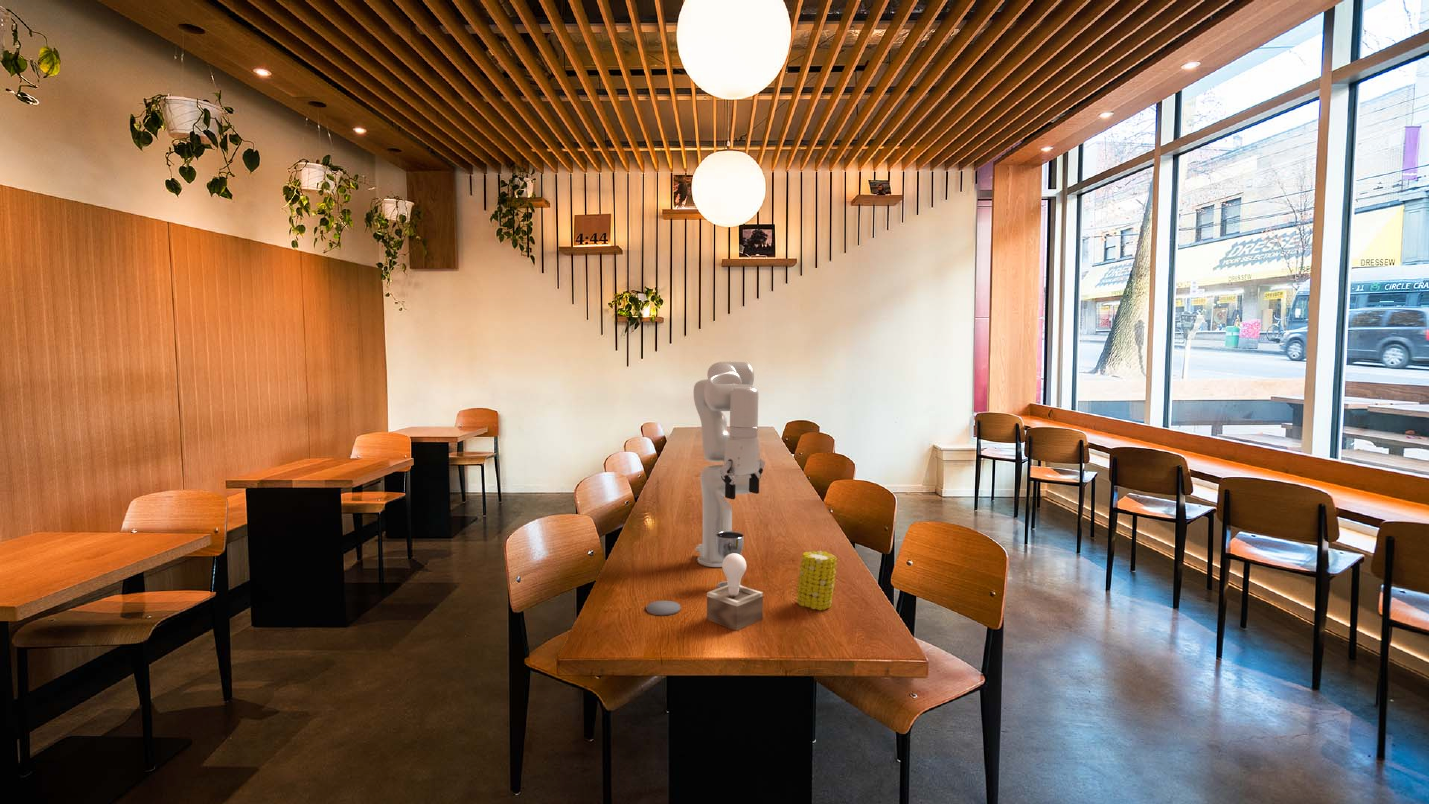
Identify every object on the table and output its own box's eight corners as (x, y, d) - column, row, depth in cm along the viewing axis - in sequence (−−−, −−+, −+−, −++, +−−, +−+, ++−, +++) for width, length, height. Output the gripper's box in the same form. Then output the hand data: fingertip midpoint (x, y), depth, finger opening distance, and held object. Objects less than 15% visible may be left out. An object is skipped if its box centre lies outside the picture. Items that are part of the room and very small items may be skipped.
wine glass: (746, 582, 196) (746, 532, 195) (738, 591, 189) (739, 539, 188) (720, 579, 199) (721, 530, 198) (711, 588, 191) (712, 536, 190)
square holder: (706, 619, 168) (707, 592, 168) (733, 609, 176) (733, 583, 175) (736, 630, 161) (736, 602, 161) (762, 619, 169) (762, 592, 168)
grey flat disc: (639, 611, 173) (639, 609, 173) (658, 600, 181) (658, 598, 181) (668, 618, 169) (668, 615, 169) (686, 606, 177) (686, 604, 177)
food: (792, 606, 182) (826, 606, 184) (806, 612, 171) (843, 612, 173) (791, 549, 185) (825, 549, 187) (806, 552, 173) (842, 552, 175)
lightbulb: (720, 592, 171) (721, 550, 170) (743, 591, 171) (745, 550, 170) (722, 600, 165) (723, 557, 164) (747, 600, 165) (748, 557, 164)
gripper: (753, 428, 187) (752, 488, 189) (711, 434, 175) (710, 498, 176) (774, 431, 182) (773, 493, 183) (732, 437, 169) (730, 503, 171)
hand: (742, 495), depth 180 cm, fingers open, 9 cm apart
